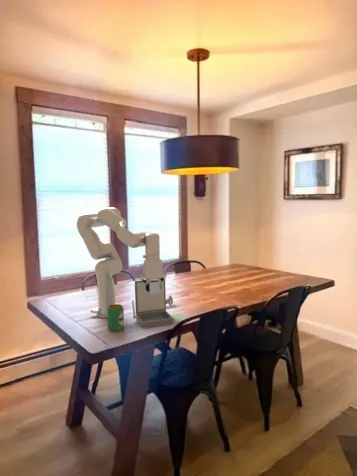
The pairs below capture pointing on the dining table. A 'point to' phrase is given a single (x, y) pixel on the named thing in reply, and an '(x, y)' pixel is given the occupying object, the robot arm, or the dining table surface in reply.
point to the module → (154, 286)
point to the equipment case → (150, 306)
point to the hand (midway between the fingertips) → (153, 290)
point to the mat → (179, 317)
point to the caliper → (169, 300)
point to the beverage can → (115, 317)
